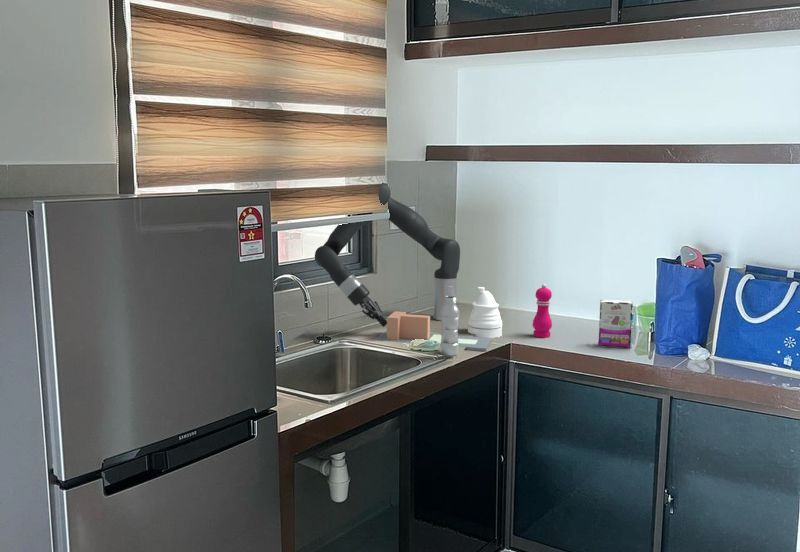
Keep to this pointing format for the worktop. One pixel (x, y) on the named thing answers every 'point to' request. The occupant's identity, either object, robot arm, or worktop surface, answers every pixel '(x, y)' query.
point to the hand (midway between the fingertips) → (386, 324)
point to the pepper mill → (542, 313)
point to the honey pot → (485, 316)
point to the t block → (408, 326)
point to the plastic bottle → (449, 328)
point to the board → (463, 341)
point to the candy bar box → (615, 323)
